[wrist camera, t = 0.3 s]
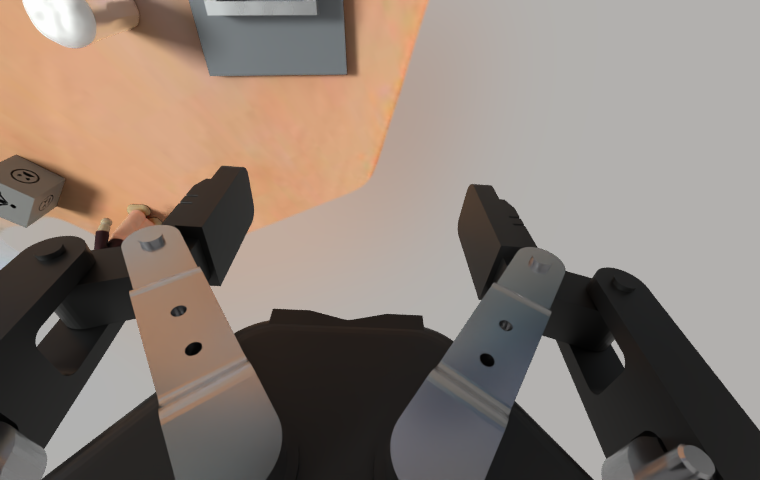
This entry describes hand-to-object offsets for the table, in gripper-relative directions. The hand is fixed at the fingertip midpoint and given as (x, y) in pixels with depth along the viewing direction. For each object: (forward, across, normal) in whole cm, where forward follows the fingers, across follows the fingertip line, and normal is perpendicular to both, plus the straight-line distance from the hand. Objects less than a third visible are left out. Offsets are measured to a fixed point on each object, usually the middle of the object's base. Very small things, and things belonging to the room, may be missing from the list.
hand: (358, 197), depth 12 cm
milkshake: (+28, +24, -2) cm, 37 cm away
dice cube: (+27, +40, +17) cm, 51 cm away
